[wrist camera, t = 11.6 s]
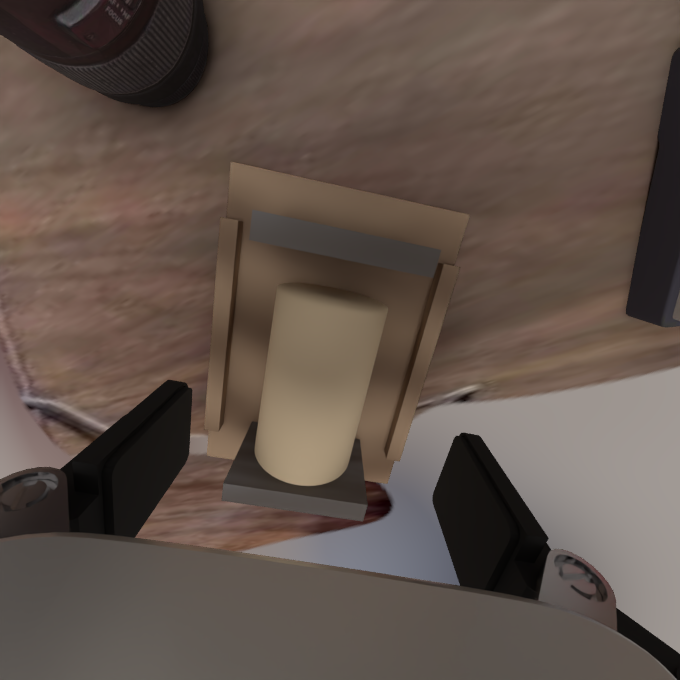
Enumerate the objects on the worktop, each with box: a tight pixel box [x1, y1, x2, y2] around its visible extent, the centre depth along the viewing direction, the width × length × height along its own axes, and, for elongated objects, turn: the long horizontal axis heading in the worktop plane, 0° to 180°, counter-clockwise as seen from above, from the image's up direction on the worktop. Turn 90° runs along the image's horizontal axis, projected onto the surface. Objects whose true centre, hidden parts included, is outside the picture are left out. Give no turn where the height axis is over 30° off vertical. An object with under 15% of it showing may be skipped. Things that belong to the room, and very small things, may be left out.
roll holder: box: [204, 162, 470, 521], centre depth 19 cm, size 20×14×7 cm
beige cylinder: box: [255, 283, 388, 486], centre depth 18 cm, size 10×6×6 cm
